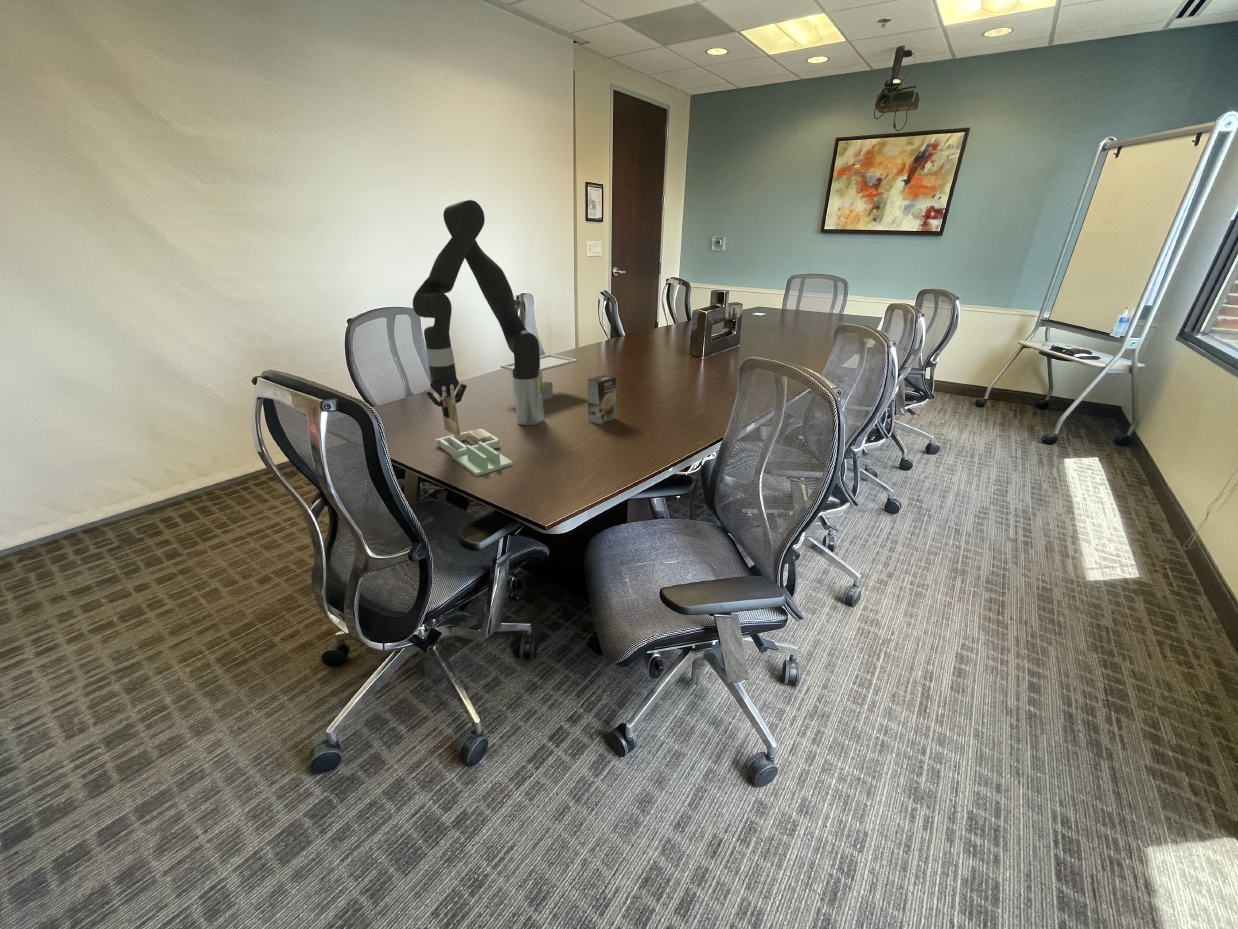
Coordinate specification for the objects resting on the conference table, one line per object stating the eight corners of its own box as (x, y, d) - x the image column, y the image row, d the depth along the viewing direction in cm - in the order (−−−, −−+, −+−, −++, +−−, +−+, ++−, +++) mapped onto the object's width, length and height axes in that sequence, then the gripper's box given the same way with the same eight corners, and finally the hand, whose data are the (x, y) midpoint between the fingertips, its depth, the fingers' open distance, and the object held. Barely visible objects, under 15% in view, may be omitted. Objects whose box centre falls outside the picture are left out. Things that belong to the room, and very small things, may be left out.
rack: (481, 434, 174) (480, 428, 173) (500, 446, 164) (500, 439, 163) (436, 446, 164) (435, 439, 163) (454, 459, 155) (453, 452, 154)
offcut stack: (480, 437, 171) (479, 428, 170) (493, 445, 165) (491, 435, 163) (467, 441, 168) (465, 431, 167) (479, 449, 162) (477, 439, 161)
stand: (491, 450, 161) (489, 437, 159) (512, 464, 151) (511, 451, 150) (455, 460, 154) (453, 447, 152) (476, 476, 144) (474, 462, 143)
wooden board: (449, 428, 162) (443, 392, 157) (460, 435, 156) (454, 398, 151) (445, 429, 161) (439, 393, 156) (455, 436, 156) (450, 399, 150)
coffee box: (600, 424, 183) (599, 382, 176) (587, 421, 187) (586, 379, 180) (616, 418, 190) (616, 377, 183) (603, 414, 193) (603, 374, 186)
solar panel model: (530, 409, 199) (527, 372, 193) (503, 400, 209) (499, 365, 203) (578, 393, 219) (577, 359, 212) (551, 386, 229) (549, 353, 222)
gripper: (457, 356, 156) (465, 409, 163) (414, 363, 148) (424, 418, 155) (468, 360, 150) (475, 415, 158) (423, 368, 142) (433, 425, 150)
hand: (450, 416), depth 156 cm, fingers closed on wooden board, 1 cm apart
